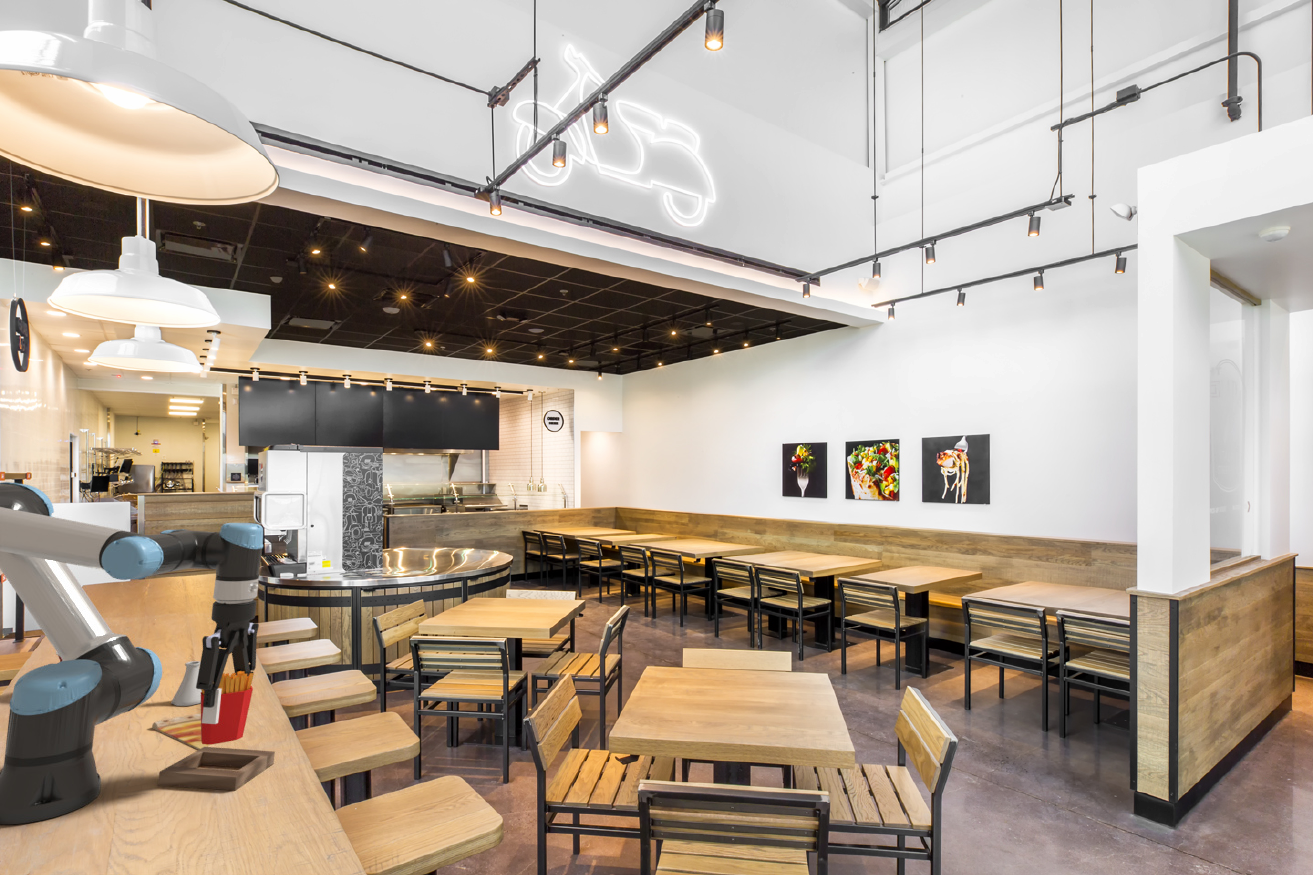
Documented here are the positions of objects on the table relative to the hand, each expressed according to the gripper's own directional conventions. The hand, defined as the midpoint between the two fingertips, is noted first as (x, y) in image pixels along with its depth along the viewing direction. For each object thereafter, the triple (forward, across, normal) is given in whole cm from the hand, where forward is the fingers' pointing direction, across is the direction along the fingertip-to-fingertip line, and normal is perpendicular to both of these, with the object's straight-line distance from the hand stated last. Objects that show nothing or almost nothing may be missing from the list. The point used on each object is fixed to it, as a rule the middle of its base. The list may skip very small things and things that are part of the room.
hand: (223, 715), depth 131 cm
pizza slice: (+12, +18, +21) cm, 30 cm away
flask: (+12, +37, +34) cm, 51 cm away
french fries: (+5, 0, 0) cm, 5 cm away
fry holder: (+11, 0, 0) cm, 11 cm away
